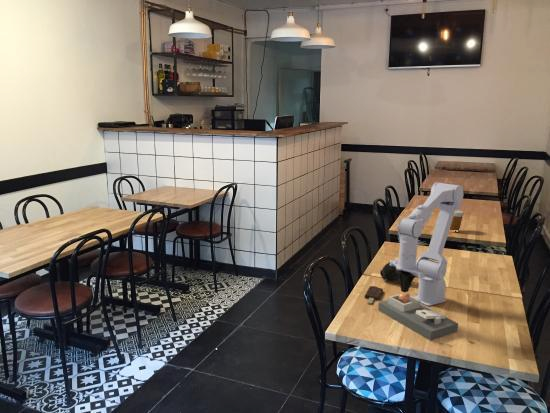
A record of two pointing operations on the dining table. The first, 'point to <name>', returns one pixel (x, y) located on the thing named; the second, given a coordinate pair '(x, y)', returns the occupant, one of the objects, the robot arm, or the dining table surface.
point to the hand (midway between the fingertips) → (404, 291)
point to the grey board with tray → (417, 318)
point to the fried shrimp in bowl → (389, 273)
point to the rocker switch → (430, 314)
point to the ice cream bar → (373, 294)
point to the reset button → (404, 297)
